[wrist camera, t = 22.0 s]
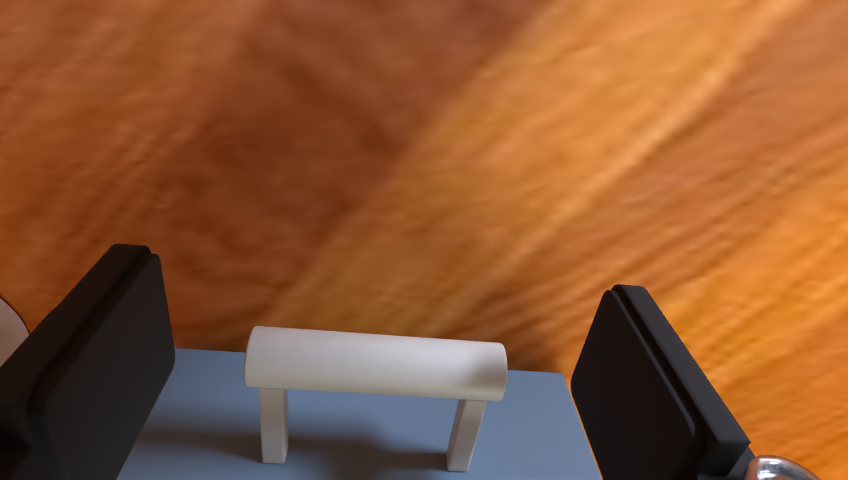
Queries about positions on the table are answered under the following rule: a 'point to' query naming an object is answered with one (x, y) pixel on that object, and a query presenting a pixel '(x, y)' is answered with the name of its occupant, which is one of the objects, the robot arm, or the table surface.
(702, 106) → the table surface
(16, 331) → the paper roll
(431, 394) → the drawer
